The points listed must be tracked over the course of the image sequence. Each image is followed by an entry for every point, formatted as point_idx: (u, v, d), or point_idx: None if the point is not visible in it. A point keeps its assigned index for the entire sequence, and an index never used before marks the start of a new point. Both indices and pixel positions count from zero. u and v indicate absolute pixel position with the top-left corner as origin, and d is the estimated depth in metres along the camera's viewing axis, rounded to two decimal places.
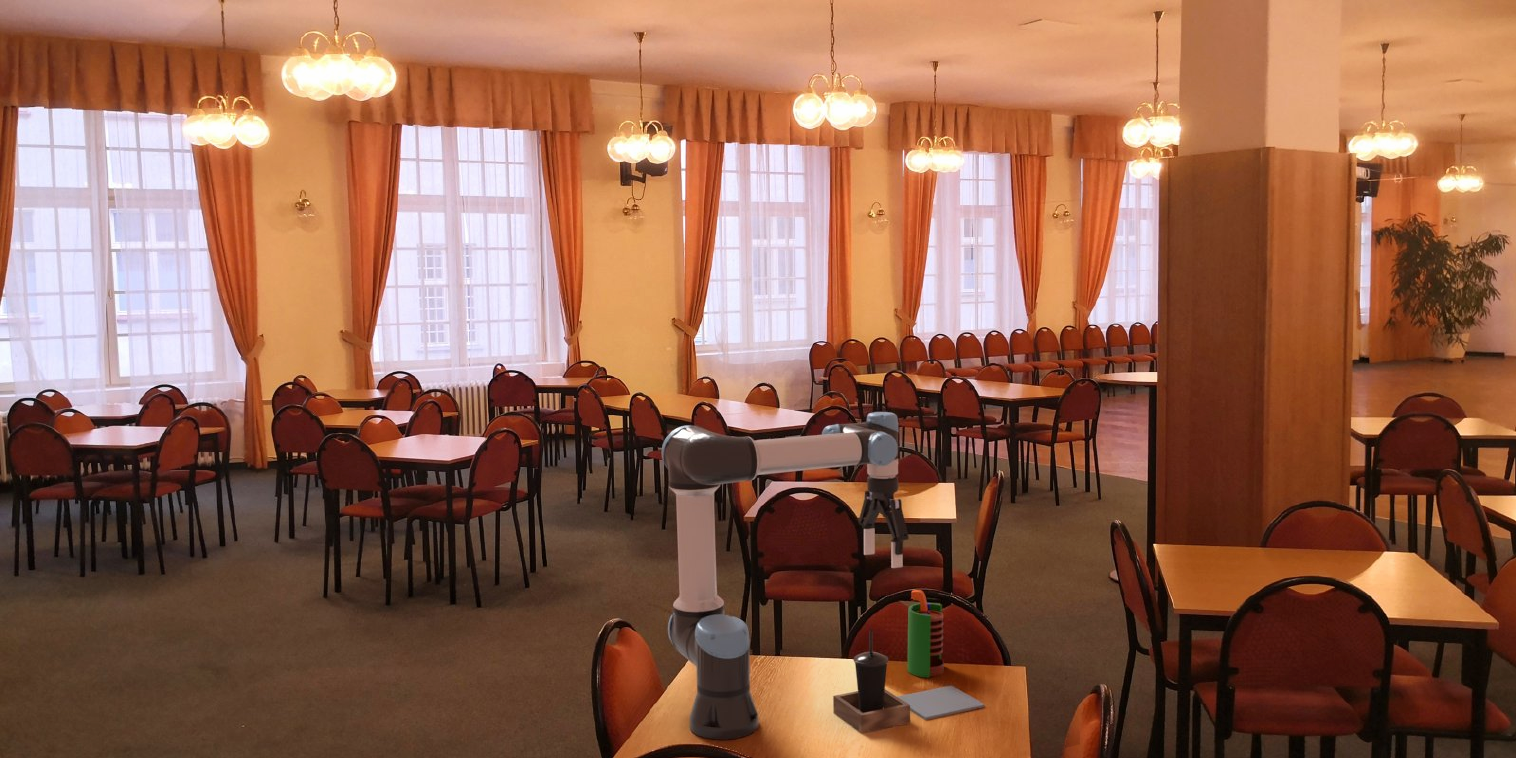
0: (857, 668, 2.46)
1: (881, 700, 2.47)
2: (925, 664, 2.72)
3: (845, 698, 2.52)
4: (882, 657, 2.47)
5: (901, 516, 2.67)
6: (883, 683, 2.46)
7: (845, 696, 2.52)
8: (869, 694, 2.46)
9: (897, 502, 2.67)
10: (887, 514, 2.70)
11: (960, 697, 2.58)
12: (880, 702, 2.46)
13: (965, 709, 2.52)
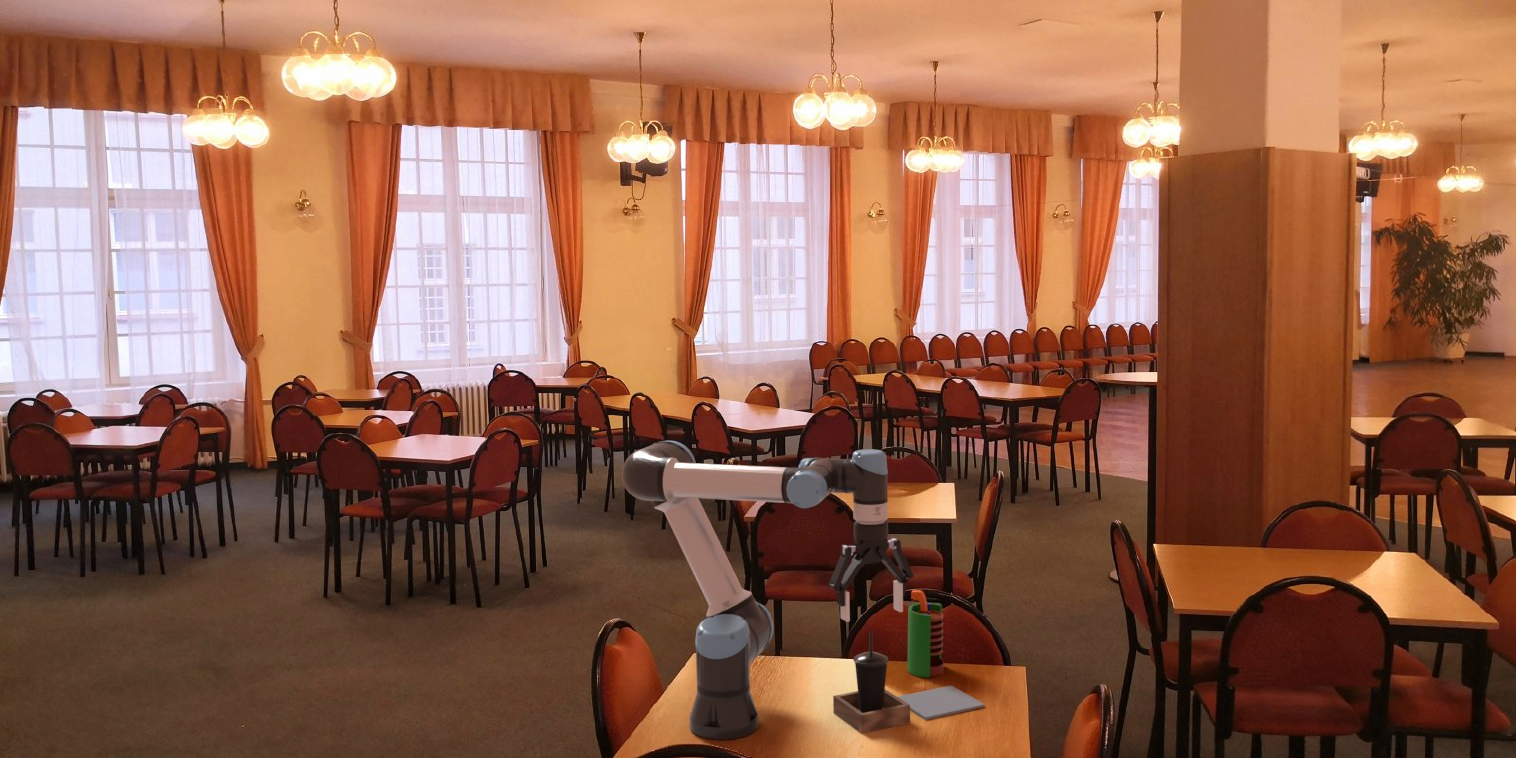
0: (857, 668, 2.46)
1: (881, 700, 2.47)
2: (925, 664, 2.72)
3: (845, 698, 2.52)
4: (882, 657, 2.47)
5: (841, 564, 2.41)
6: (883, 683, 2.46)
7: (845, 696, 2.52)
8: (869, 694, 2.46)
9: (844, 548, 2.42)
10: (853, 561, 2.45)
11: (960, 697, 2.58)
12: (880, 702, 2.46)
13: (965, 709, 2.52)
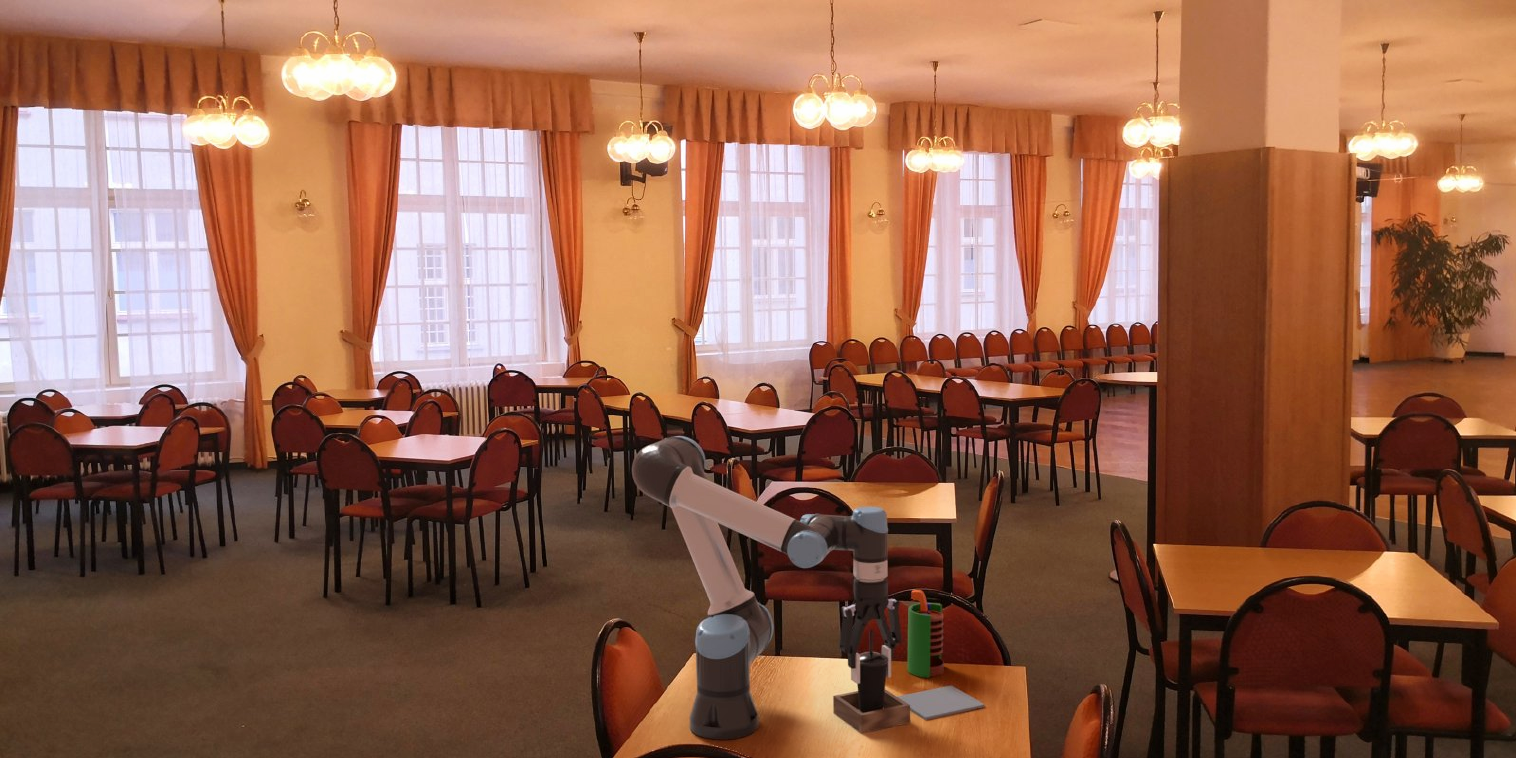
0: None
1: (881, 700, 2.47)
2: (925, 664, 2.72)
3: (845, 698, 2.52)
4: (882, 657, 2.47)
5: (846, 627, 2.43)
6: (883, 683, 2.46)
7: (845, 696, 2.52)
8: (869, 694, 2.46)
9: (844, 611, 2.44)
10: (856, 620, 2.46)
11: (960, 697, 2.58)
12: (880, 702, 2.46)
13: (965, 709, 2.52)
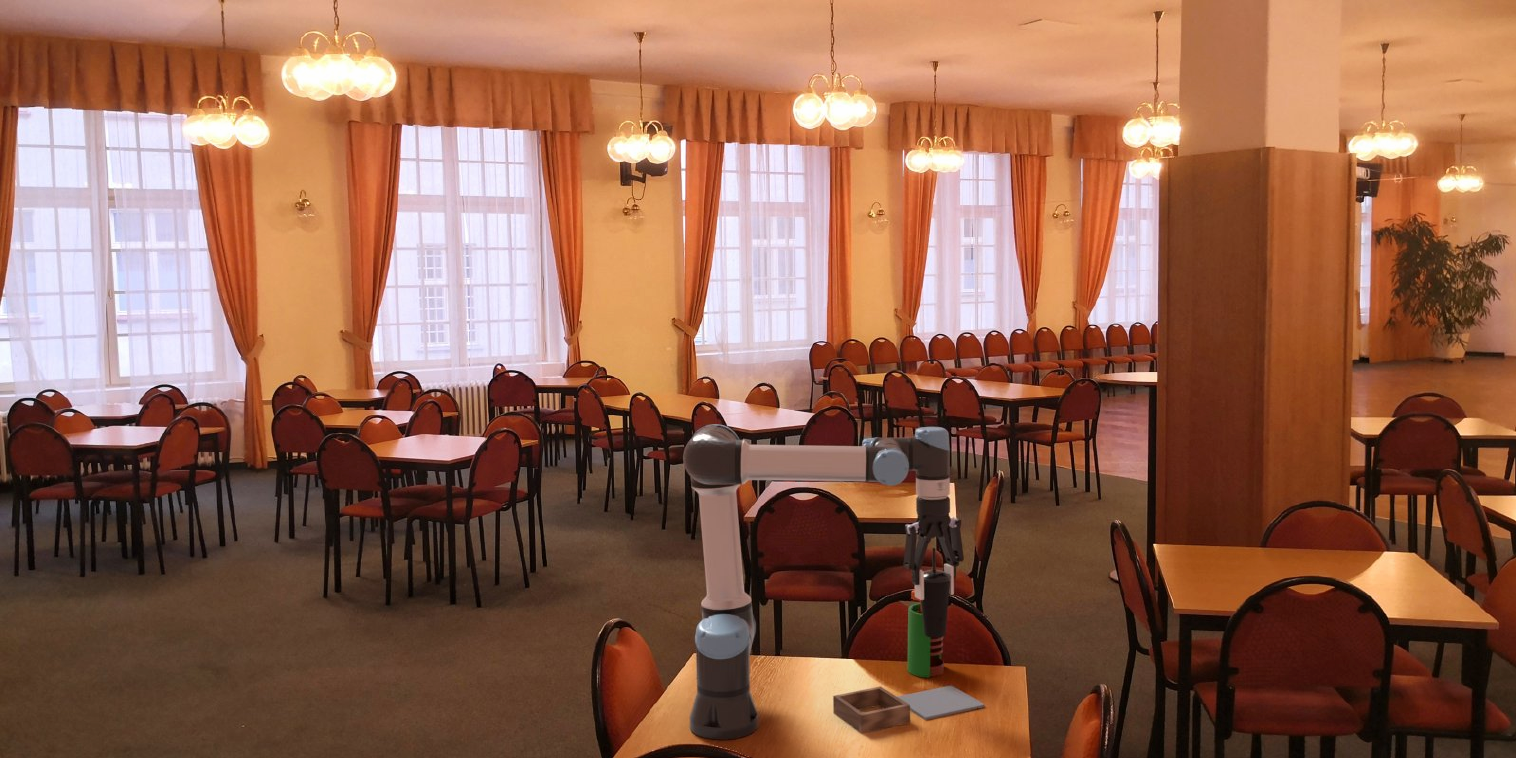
0: None
1: (945, 616, 2.52)
2: (925, 664, 2.72)
3: (845, 698, 2.52)
4: (945, 574, 2.52)
5: (910, 544, 2.49)
6: (946, 599, 2.51)
7: (845, 696, 2.52)
8: (933, 610, 2.51)
9: (908, 528, 2.49)
10: (919, 538, 2.51)
11: (960, 697, 2.58)
12: (943, 618, 2.51)
13: (965, 709, 2.52)
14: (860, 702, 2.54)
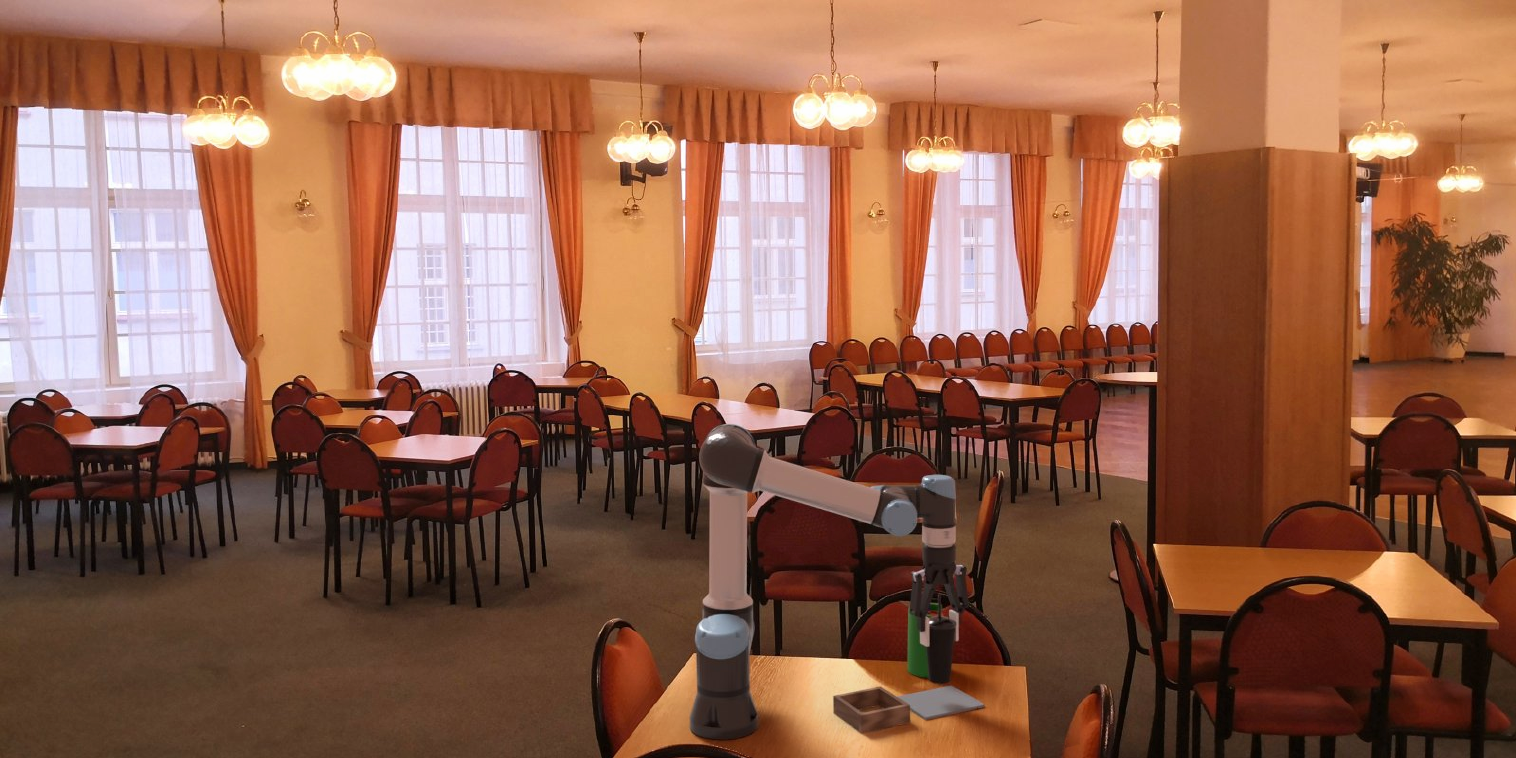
0: None
1: (950, 662, 2.54)
2: (925, 664, 2.72)
3: (845, 698, 2.52)
4: (950, 621, 2.54)
5: (916, 591, 2.50)
6: (952, 646, 2.53)
7: (845, 696, 2.52)
8: (939, 656, 2.53)
9: (914, 576, 2.51)
10: (925, 585, 2.53)
11: (960, 697, 2.58)
12: (948, 665, 2.53)
13: (965, 709, 2.52)
14: (860, 702, 2.54)
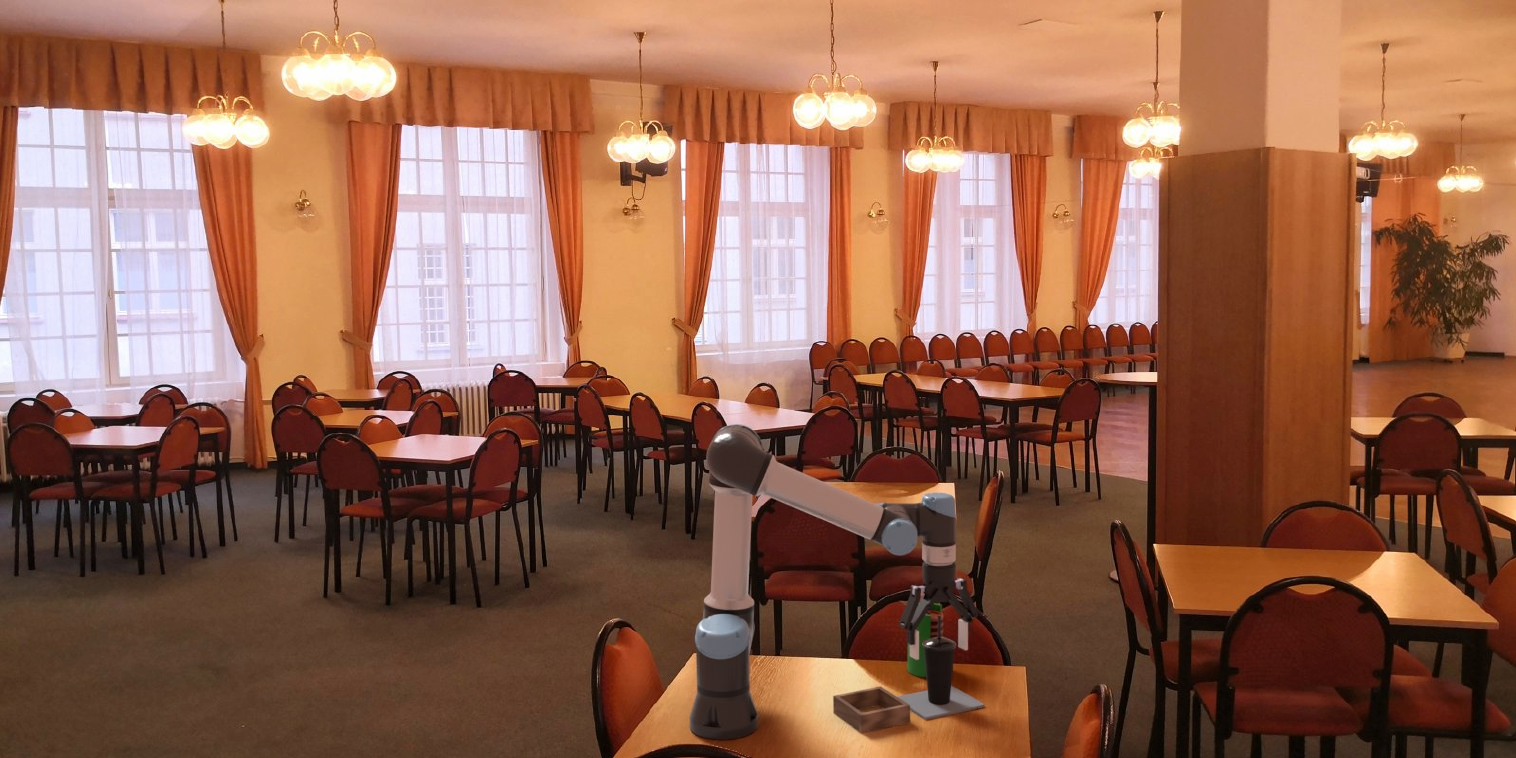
0: (926, 652, 2.54)
1: (949, 683, 2.54)
2: None
3: (845, 698, 2.52)
4: (950, 642, 2.54)
5: (911, 604, 2.50)
6: (951, 667, 2.54)
7: (845, 696, 2.52)
8: (938, 677, 2.53)
9: (913, 589, 2.51)
10: (921, 600, 2.53)
11: (960, 697, 2.58)
12: (948, 686, 2.54)
13: (965, 709, 2.52)
14: (860, 702, 2.54)
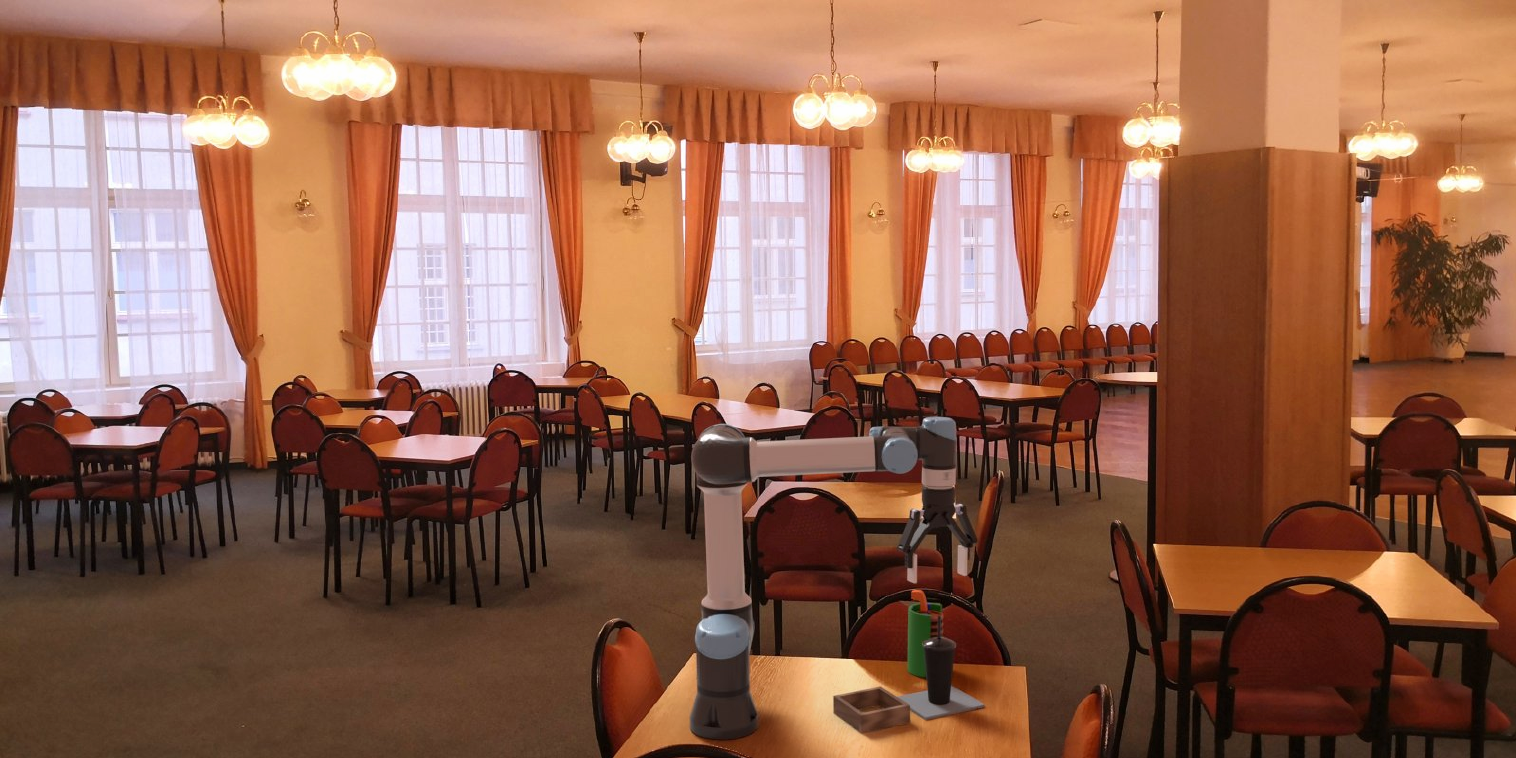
0: (926, 652, 2.54)
1: (949, 683, 2.54)
2: None
3: (845, 698, 2.52)
4: (950, 642, 2.54)
5: (910, 527, 2.48)
6: (951, 667, 2.54)
7: (845, 696, 2.52)
8: (938, 677, 2.53)
9: (913, 512, 2.49)
10: (920, 525, 2.52)
11: (960, 697, 2.58)
12: (948, 686, 2.54)
13: (965, 709, 2.52)
14: (860, 702, 2.54)
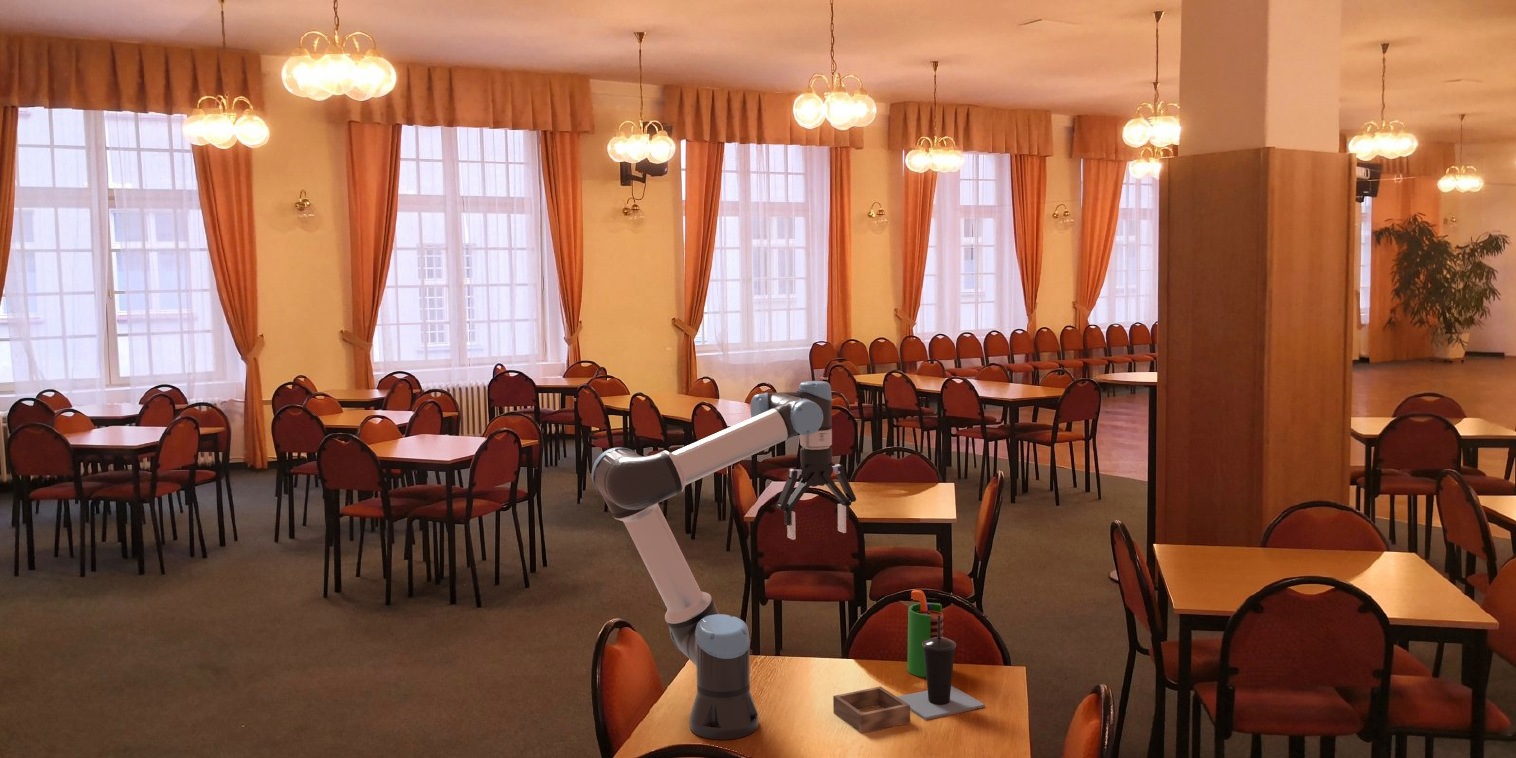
0: (926, 652, 2.54)
1: (949, 683, 2.54)
2: None
3: (845, 698, 2.52)
4: (950, 642, 2.54)
5: (788, 486, 2.60)
6: (951, 667, 2.54)
7: (845, 696, 2.52)
8: (938, 677, 2.53)
9: (790, 471, 2.61)
10: (799, 484, 2.64)
11: (960, 697, 2.58)
12: (948, 686, 2.54)
13: (965, 709, 2.52)
14: (860, 702, 2.54)
